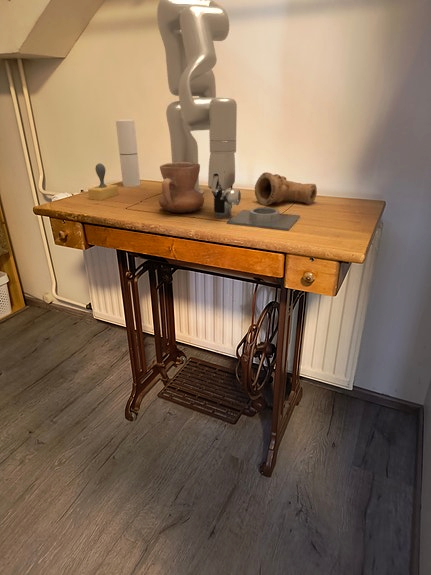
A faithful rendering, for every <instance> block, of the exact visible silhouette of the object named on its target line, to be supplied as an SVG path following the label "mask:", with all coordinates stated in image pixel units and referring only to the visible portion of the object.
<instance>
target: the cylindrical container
mask: <svg viewBox="0 0 431 575" xmlns="http://www.w3.org/2000/svg"><path fill="white" fill-rule="evenodd" d="M115 126H116V133H117V134H116V135H117V143H118V152H119V162H120V170H121V179H122V186H123V187H125V188H126V187H127V188H129V187H131V188H132V187H134V188H135V187H138V186H141V176H140V167H139V166H140V165H139V156H138V155H139V154H138V144H137V136H136V123H135V119H116V120H115Z"/></svg>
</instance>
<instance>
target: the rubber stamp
mask: <svg viewBox="0 0 431 575" xmlns="http://www.w3.org/2000/svg"><path fill="white" fill-rule="evenodd" d="M94 169H95V173H96V175H97V177H98V179H99V182H100V184H99V185H97V186H95V187H94V186H93V187H90V188H88V189H87V191H88V192H87V193H88V197H89V198H88V200H92V199H94V201H104V200H106V199H110V198H112V197H116V196H118V195H119V188H118V185H117V184H110V183H109V184H108V183H105V176H106V167H105V166H104V164H103V163H101V162H100V163H97V164H96V165H95V168H94Z"/></svg>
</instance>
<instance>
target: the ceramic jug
mask: <svg viewBox="0 0 431 575" xmlns="http://www.w3.org/2000/svg"><path fill="white" fill-rule="evenodd" d="M200 170H201V164H199V162H198V163H192V164H191V163H190V162H176V163H172V162H168V163H163V164H162V165H160V166H159V171H160V174H161V176H162V178H163V180H162V181H161V182H162V183H161V190H162V191H161V192H162V194H161V195H160V196H159V197H158V198H159V199H158V205H159V207H160V208H161V209H163V210H165V211H167V212H171V213H177V214H178V213H179V214H186V213H187V214H188V213H193V212H196V211H197V210H200V209H201V208H202V207H203V206H204V203H205V197H204V194H203V195H202V194H201V193H199V192H198V191H196V190H195V189H194V187H195V184H196V182H197V179H198V176H199V174H200ZM199 177H200V176H199Z"/></svg>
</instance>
